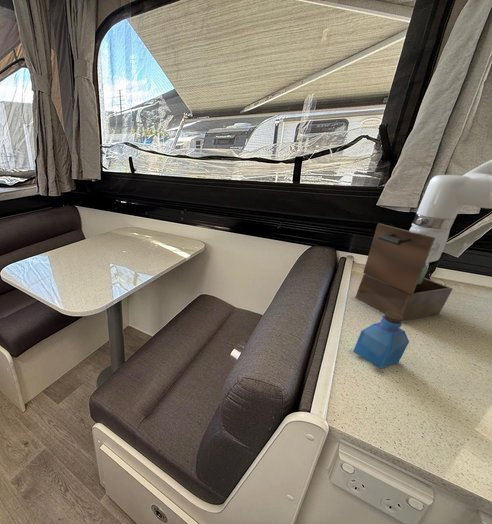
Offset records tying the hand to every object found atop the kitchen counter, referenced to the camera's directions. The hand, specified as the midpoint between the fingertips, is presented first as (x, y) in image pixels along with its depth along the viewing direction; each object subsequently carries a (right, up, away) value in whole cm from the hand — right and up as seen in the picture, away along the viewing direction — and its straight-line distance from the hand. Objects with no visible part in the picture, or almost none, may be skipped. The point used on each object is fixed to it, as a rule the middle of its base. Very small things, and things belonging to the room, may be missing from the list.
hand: (406, 279), depth 81 cm
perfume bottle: (-24, -18, -16) cm, 34 cm away
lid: (-8, +7, -5) cm, 12 cm away
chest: (0, -8, +4) cm, 9 cm away
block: (0, 0, 0) cm, 0 cm away
